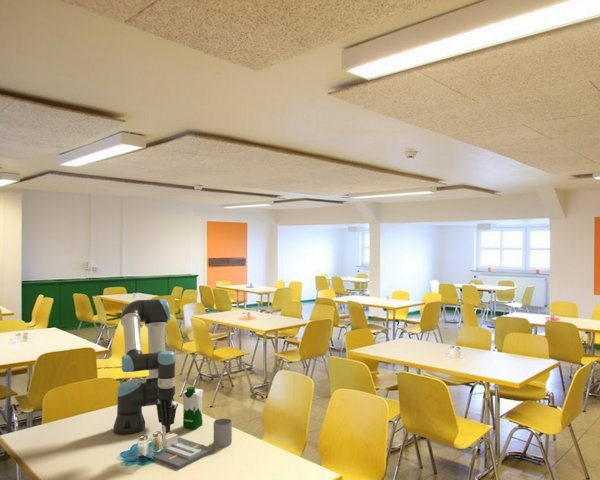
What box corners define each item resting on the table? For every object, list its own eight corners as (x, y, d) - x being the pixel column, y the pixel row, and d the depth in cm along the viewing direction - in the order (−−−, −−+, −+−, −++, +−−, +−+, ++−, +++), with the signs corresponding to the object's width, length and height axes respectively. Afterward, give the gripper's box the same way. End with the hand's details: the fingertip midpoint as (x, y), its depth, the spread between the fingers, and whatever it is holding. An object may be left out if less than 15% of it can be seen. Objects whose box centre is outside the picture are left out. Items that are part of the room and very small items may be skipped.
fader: (162, 448, 207) (162, 437, 207) (173, 443, 212) (173, 432, 212) (166, 450, 205) (166, 438, 205) (177, 445, 210) (177, 434, 211)
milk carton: (180, 428, 235) (180, 388, 235) (190, 422, 243) (190, 383, 244) (195, 430, 232) (195, 390, 232) (205, 424, 240) (205, 385, 241)
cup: (227, 447, 212) (227, 425, 212) (210, 446, 213) (210, 424, 214) (234, 440, 220) (234, 419, 220) (217, 439, 222) (217, 417, 222)
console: (141, 455, 204) (141, 449, 204) (176, 439, 221) (176, 434, 221) (178, 469, 191) (178, 462, 191) (213, 451, 208) (213, 445, 208)
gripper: (150, 386, 211) (149, 439, 210) (169, 390, 204) (169, 445, 203) (163, 382, 217) (163, 433, 217) (182, 386, 210) (182, 439, 209)
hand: (166, 439), depth 210 cm, fingers closed
